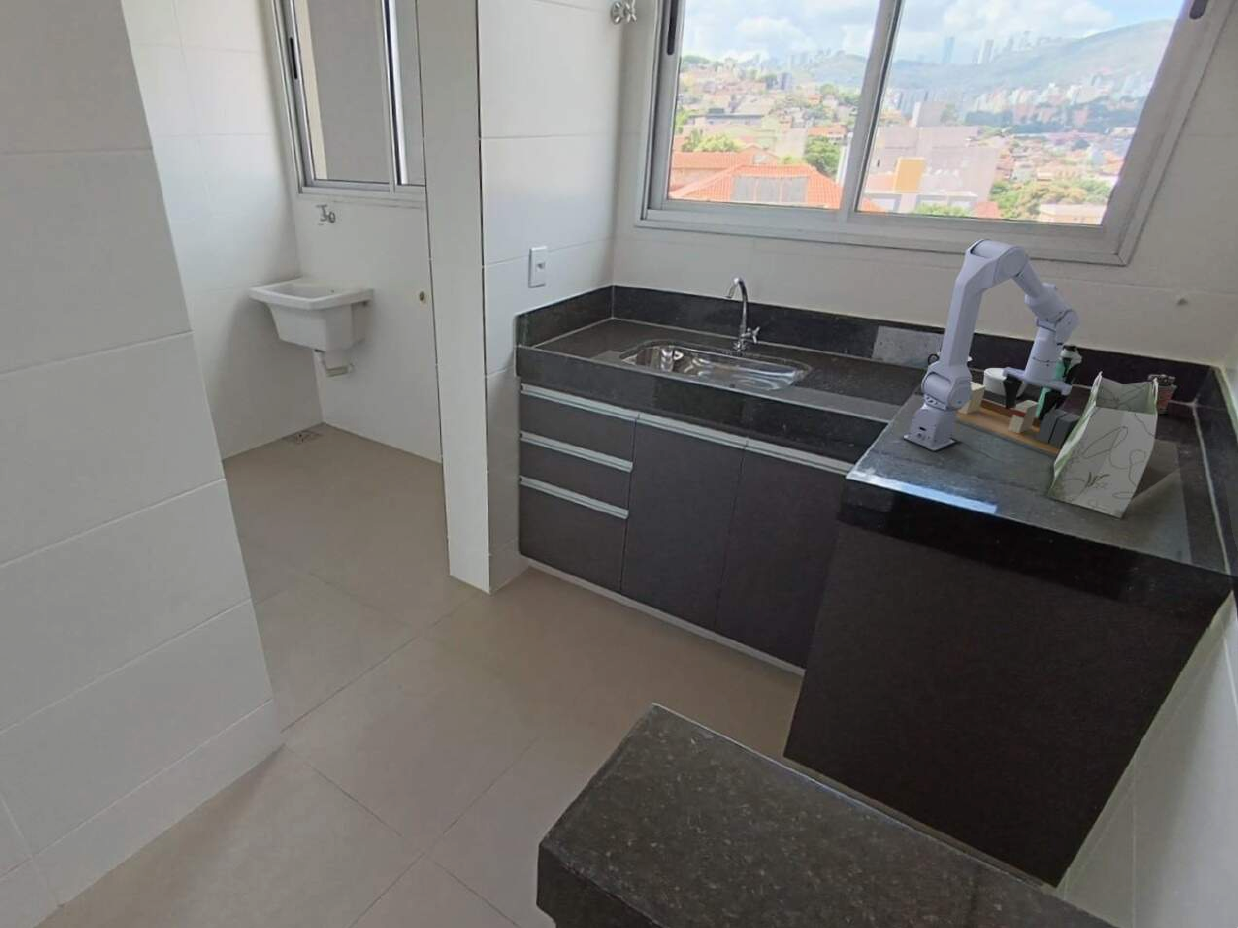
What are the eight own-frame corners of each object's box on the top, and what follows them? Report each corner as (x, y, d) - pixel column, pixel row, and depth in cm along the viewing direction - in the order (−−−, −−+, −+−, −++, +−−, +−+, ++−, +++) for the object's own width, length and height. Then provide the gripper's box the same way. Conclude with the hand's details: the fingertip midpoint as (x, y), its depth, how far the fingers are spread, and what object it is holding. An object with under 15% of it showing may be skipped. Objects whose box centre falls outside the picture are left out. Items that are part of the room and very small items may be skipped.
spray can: (1060, 428, 166) (1090, 349, 157) (1036, 425, 167) (1064, 347, 158) (1052, 419, 171) (1080, 343, 162) (1029, 417, 172) (1056, 340, 163)
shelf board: (1055, 458, 150) (1060, 446, 149) (928, 411, 172) (931, 400, 171) (1083, 444, 158) (1087, 433, 156) (958, 401, 180) (961, 390, 178)
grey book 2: (1060, 448, 153) (1070, 422, 150) (1048, 444, 154) (1058, 418, 151) (1072, 442, 156) (1082, 417, 153) (1060, 438, 158) (1070, 413, 155)
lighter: (1159, 409, 181) (1175, 374, 177) (1167, 414, 178) (1184, 378, 174) (1128, 407, 182) (1143, 371, 178) (1135, 412, 179) (1151, 376, 174)
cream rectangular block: (966, 414, 168) (973, 390, 165) (956, 411, 170) (963, 387, 167) (978, 410, 172) (986, 386, 169) (968, 406, 174) (976, 383, 171)
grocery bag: (1059, 446, 157) (1096, 350, 147) (1130, 464, 150) (1174, 364, 140) (1041, 497, 134) (1083, 388, 124) (1124, 522, 127) (1176, 408, 116)
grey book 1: (1047, 443, 155) (1056, 417, 152) (1035, 439, 156) (1044, 413, 154) (1059, 438, 158) (1068, 412, 155) (1047, 434, 160) (1056, 408, 157)
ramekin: (1029, 402, 182) (1035, 383, 179) (985, 397, 184) (991, 378, 181) (1016, 388, 192) (1022, 370, 189) (974, 383, 193) (980, 365, 191)
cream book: (1018, 433, 159) (1027, 408, 156) (1007, 429, 161) (1015, 404, 158) (1030, 428, 162) (1039, 403, 160) (1019, 424, 164) (1028, 399, 161)
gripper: (1085, 365, 151) (1064, 420, 157) (1020, 347, 161) (1002, 400, 167) (1071, 370, 147) (1050, 427, 153) (1005, 351, 157) (988, 405, 163)
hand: (1024, 413), depth 160 cm, fingers open, 7 cm apart
